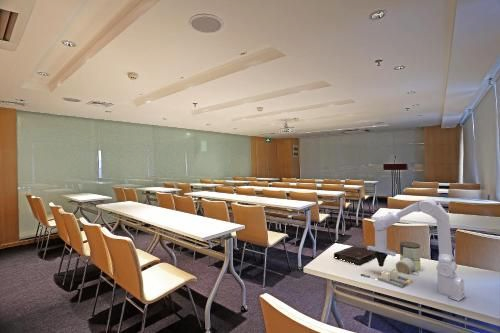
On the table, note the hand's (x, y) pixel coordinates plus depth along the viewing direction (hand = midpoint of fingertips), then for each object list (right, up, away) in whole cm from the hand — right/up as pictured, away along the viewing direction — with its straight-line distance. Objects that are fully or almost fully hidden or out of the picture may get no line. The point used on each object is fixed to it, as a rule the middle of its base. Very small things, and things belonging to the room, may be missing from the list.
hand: (381, 266), depth 141 cm
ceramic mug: (+17, -6, +3) cm, 18 cm away
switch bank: (+2, -5, -9) cm, 11 cm away
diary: (-1, -7, +30) cm, 31 cm away
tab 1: (-2, -4, -8) cm, 9 cm away
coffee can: (+23, -6, +12) cm, 26 cm away
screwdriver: (-8, -6, -4) cm, 11 cm away
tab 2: (+4, -4, -5) cm, 8 cm away
